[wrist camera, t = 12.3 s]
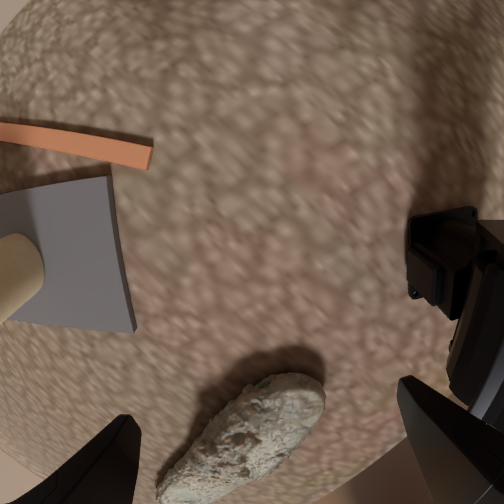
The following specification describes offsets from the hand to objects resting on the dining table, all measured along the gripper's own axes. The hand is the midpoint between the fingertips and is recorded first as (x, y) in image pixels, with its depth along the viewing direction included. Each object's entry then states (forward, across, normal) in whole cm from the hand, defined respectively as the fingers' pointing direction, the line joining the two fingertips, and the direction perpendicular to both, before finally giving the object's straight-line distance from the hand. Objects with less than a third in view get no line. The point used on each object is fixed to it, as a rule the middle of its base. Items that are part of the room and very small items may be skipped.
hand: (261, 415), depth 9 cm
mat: (+13, +17, -4) cm, 22 cm away
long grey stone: (+14, +9, +23) cm, 29 cm away
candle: (+12, +19, -4) cm, 23 cm away
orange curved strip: (+13, +13, -13) cm, 22 cm away
